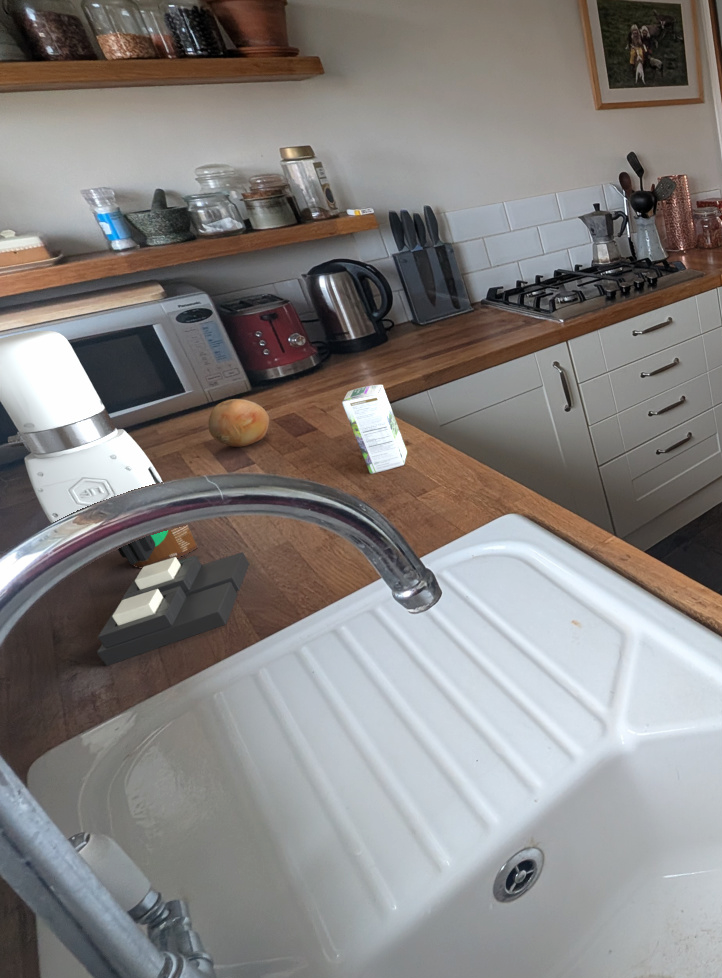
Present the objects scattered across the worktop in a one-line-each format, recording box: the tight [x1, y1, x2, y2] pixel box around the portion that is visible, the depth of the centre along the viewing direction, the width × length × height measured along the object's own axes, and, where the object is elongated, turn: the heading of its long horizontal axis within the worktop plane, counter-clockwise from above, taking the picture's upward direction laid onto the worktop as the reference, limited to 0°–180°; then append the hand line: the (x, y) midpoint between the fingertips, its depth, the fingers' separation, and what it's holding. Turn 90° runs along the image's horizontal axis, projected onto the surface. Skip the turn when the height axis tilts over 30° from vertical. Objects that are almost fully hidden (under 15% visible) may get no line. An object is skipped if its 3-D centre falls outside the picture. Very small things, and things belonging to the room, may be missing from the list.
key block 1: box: [121, 552, 250, 601], centre depth 92 cm, size 12×7×4 cm, turn 118°
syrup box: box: [341, 384, 408, 475], centre depth 121 cm, size 6×6×14 cm
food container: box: [131, 524, 199, 567], centre depth 100 cm, size 12×6×10 cm, turn 80°
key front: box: [112, 589, 164, 626], centre depth 84 cm, size 4×4×2 cm
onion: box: [208, 398, 270, 448], centre depth 139 cm, size 10×10×10 cm
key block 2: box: [96, 582, 239, 667], centre depth 86 cm, size 12×7×4 cm, turn 118°
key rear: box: [134, 557, 182, 590], centre depth 91 cm, size 4×4×2 cm
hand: (142, 556), depth 89 cm, fingers closed
